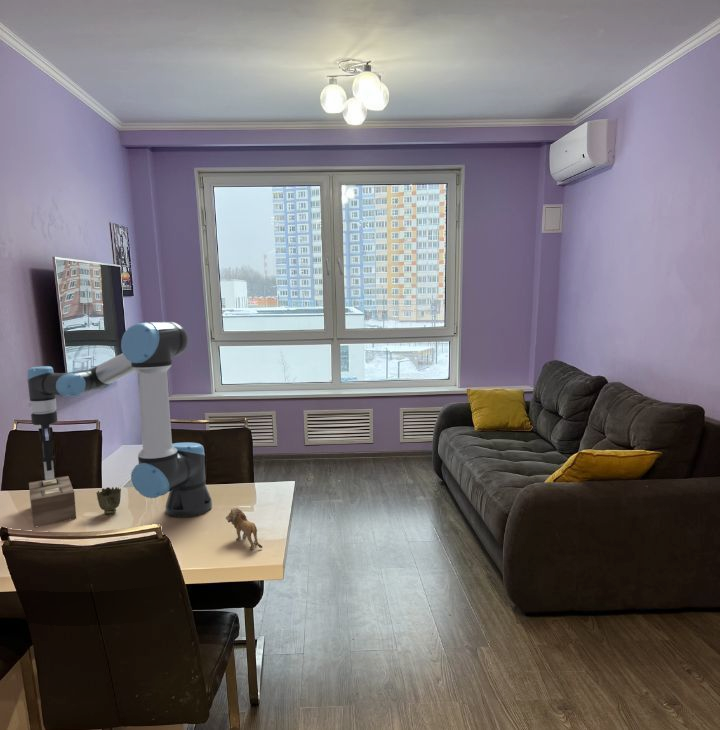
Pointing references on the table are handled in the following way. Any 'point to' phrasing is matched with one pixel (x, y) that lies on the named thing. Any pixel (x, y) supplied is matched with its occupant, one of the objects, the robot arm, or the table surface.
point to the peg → (49, 482)
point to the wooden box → (52, 501)
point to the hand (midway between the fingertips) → (49, 478)
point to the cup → (109, 499)
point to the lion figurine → (243, 526)
